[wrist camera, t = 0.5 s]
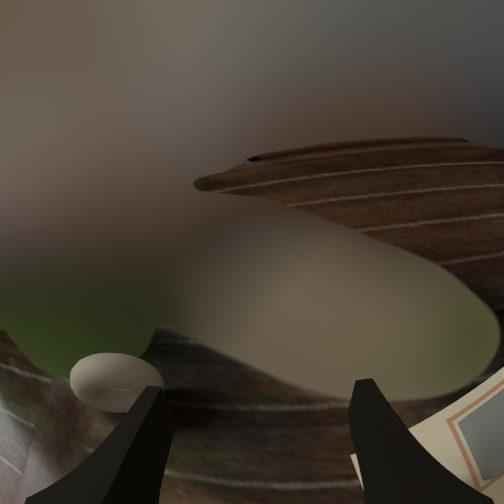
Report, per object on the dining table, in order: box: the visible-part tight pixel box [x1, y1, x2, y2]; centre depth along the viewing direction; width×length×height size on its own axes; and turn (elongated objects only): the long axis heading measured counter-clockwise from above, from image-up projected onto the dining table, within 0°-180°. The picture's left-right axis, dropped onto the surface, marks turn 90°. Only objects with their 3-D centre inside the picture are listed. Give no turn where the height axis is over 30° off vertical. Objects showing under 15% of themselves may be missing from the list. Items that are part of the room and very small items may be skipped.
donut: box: [70, 353, 164, 413], centre depth 26 cm, size 10×4×10 cm, turn 104°
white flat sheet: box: [351, 367, 504, 504], centre depth 16 cm, size 13×18×1 cm
